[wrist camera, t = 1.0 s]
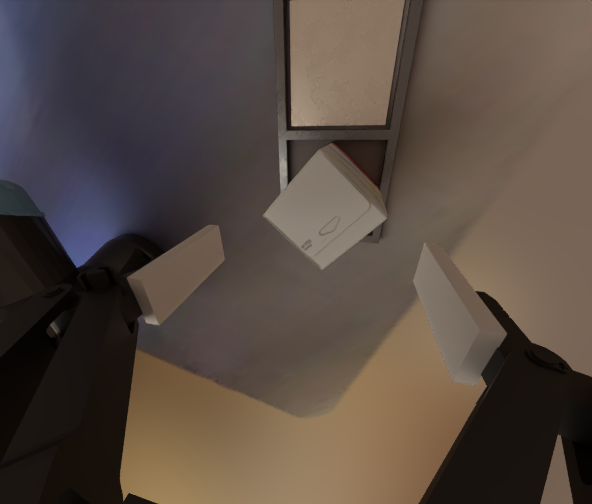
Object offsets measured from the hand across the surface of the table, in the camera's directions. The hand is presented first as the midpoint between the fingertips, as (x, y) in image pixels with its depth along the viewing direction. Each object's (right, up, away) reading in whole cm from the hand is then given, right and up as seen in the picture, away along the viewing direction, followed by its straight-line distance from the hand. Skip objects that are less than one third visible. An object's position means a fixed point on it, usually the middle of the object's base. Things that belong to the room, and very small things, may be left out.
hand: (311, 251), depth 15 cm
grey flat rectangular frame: (+4, +14, +13) cm, 19 cm away
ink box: (+4, +9, +16) cm, 19 cm away
